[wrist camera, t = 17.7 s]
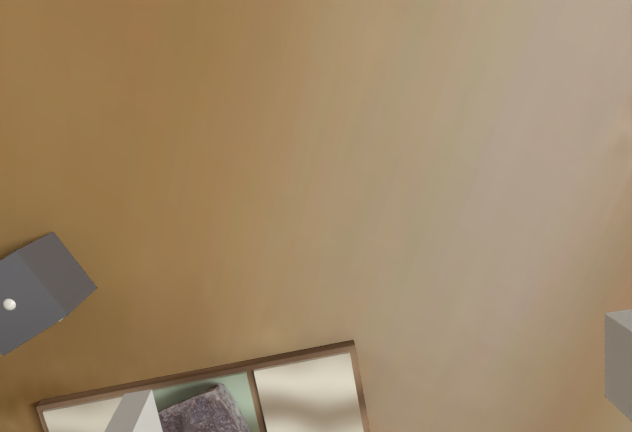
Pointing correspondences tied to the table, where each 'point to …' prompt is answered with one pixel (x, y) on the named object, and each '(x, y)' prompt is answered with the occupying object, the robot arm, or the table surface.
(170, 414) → the rock
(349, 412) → the board
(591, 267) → the table surface
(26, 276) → the die
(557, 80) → the table surface
